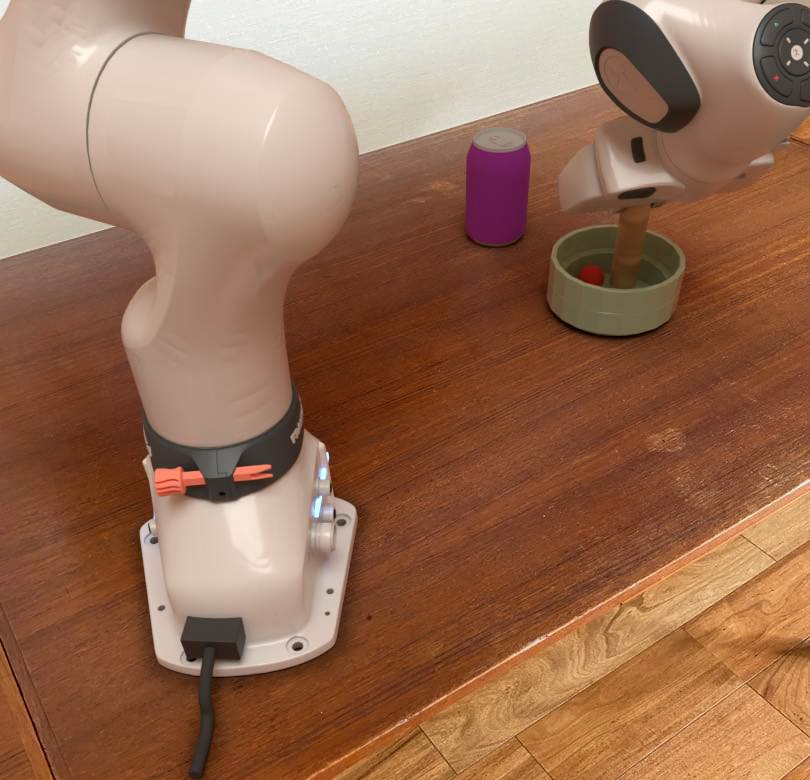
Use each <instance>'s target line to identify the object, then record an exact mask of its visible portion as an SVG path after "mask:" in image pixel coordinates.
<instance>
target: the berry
mask: <svg viewBox="0 0 810 780" xmlns="http://www.w3.org/2000/svg"><path fill="white" fill-rule="evenodd" d="M577 279H579V280H581V281H583V282H585V283H588V284H592V285H596V286H600V287H602V285H603V283H604V274H603V271H602V270H601V269H600V268H599V267H597V266H595V265H589V266H586V267H584V268H583V269H581V271H580V272H579V274H578V277H577Z"/></svg>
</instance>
